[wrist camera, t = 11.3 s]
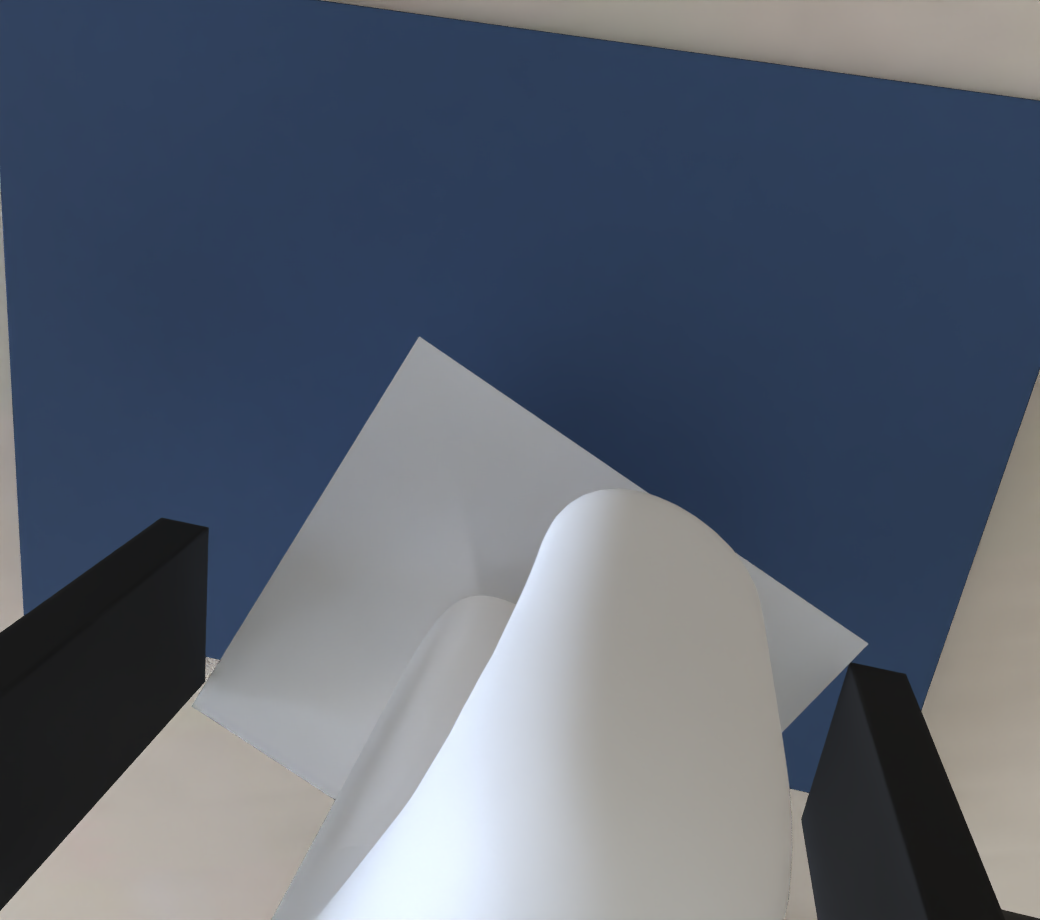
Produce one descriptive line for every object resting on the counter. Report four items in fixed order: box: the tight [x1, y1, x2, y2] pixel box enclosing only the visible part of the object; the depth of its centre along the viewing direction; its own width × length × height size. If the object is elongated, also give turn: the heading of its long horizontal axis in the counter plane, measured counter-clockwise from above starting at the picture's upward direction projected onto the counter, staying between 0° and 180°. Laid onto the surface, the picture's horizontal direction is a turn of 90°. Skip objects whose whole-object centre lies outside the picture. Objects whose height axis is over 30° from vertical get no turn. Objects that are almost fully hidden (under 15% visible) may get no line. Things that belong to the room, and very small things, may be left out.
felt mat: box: [0, 0, 1040, 793], centre depth 18 cm, size 14×20×1 cm
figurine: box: [192, 337, 868, 920], centre depth 10 cm, size 7×9×15 cm
